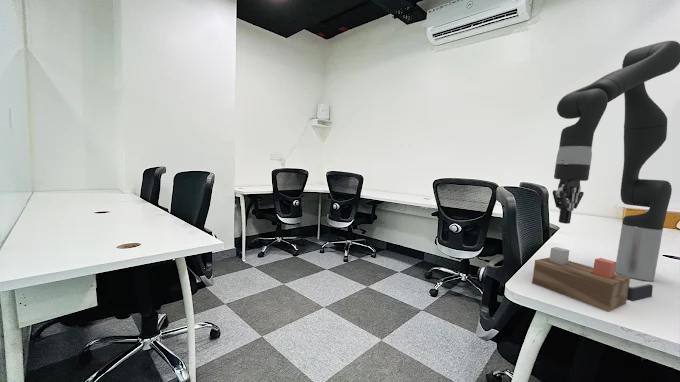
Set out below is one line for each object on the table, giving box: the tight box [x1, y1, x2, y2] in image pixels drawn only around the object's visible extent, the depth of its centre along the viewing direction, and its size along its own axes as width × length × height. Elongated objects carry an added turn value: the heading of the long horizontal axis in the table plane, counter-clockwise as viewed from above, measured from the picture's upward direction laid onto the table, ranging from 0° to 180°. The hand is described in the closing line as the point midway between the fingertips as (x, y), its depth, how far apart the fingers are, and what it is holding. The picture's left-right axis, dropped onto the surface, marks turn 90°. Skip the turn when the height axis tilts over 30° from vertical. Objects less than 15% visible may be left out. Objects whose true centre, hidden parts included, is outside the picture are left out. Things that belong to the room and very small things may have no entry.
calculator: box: [627, 278, 654, 302], centre depth 81 cm, size 11×4×15 cm
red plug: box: [593, 257, 617, 279], centre depth 70 cm, size 3×3×7 cm
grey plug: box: [549, 246, 570, 265], centre depth 79 cm, size 3×3×7 cm
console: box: [531, 256, 631, 312], centre depth 75 cm, size 11×17×7 cm, turn 27°
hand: (564, 223), depth 78 cm, fingers closed
